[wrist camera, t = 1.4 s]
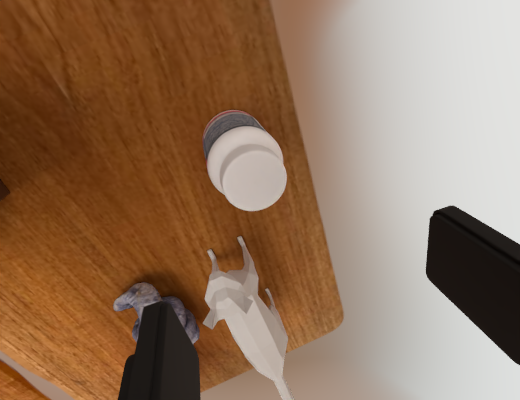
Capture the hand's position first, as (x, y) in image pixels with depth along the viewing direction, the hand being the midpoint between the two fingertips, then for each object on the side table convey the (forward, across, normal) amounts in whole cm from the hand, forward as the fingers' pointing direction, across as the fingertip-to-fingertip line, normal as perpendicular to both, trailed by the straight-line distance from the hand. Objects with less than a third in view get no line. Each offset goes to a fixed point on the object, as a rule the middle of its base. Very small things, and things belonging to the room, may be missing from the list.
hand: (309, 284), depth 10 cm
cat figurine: (+18, +3, +15) cm, 24 cm away
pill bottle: (+18, 0, 0) cm, 18 cm away
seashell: (+18, +12, +15) cm, 26 cm away
